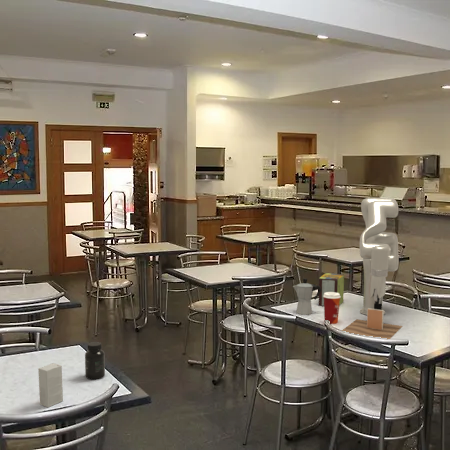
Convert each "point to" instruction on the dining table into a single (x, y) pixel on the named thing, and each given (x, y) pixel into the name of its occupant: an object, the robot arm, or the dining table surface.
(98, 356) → the supplement bottle
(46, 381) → the skincare box
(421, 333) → the dining table surface
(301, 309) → the coffee maker
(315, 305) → the dining table surface
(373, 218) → the robot arm
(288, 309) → the dining table surface
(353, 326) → the board
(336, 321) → the coffee cup
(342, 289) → the protein box
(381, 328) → the tile
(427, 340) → the dining table surface
